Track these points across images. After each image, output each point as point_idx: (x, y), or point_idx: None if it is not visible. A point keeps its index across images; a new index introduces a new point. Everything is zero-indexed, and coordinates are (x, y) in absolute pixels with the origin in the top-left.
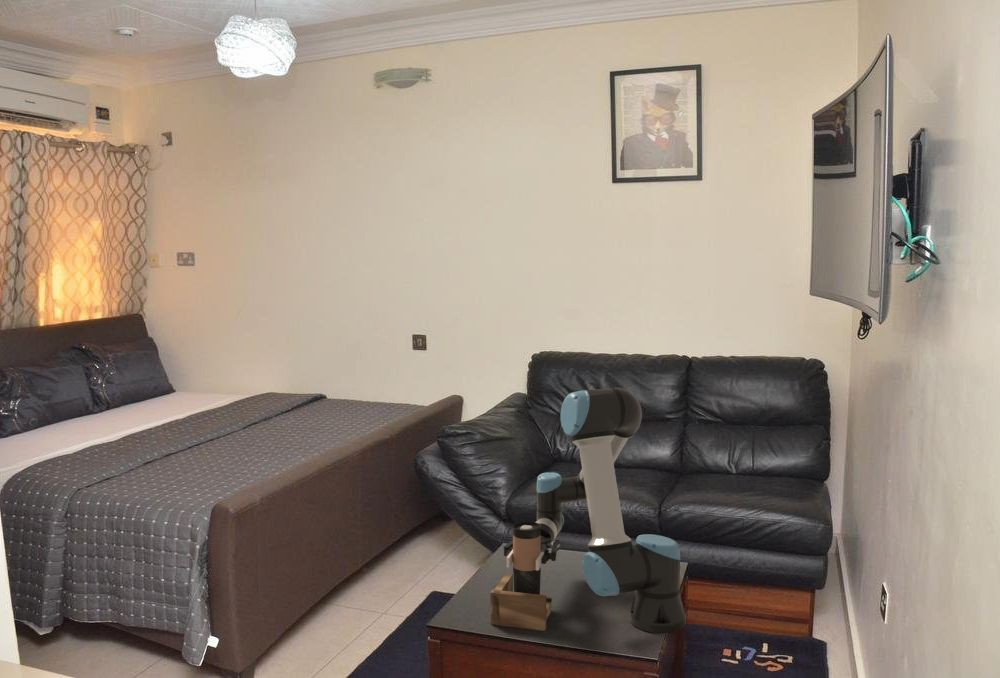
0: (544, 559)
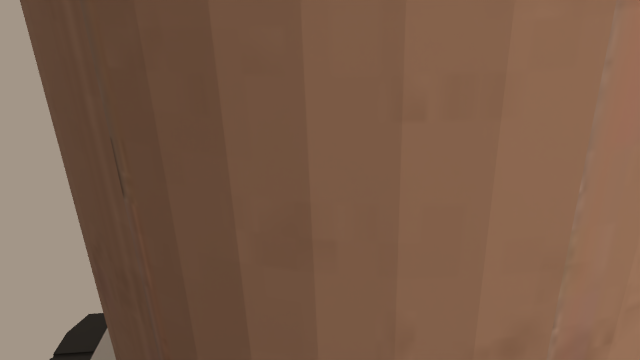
0: (95, 319)
